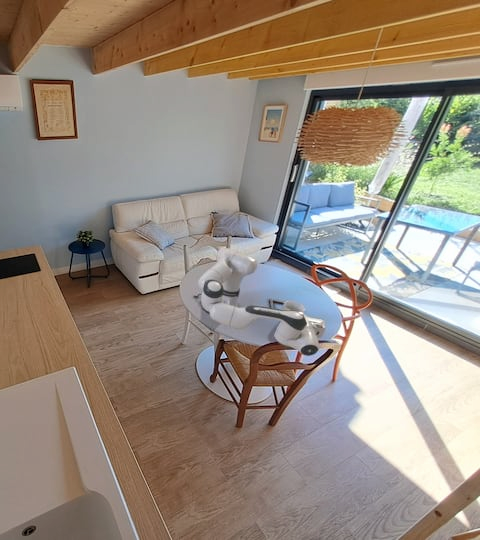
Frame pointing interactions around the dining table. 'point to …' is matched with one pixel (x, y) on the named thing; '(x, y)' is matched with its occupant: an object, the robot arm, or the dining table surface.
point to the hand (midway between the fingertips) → (299, 312)
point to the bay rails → (275, 302)
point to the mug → (293, 306)
